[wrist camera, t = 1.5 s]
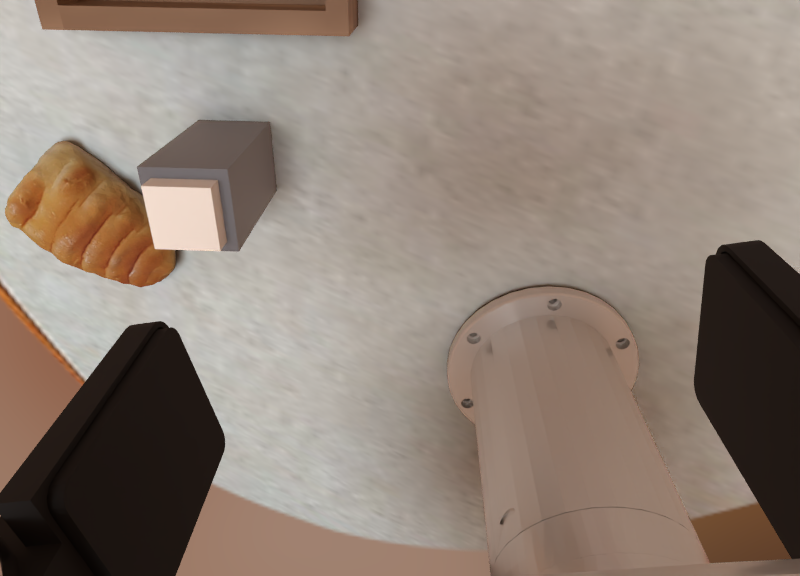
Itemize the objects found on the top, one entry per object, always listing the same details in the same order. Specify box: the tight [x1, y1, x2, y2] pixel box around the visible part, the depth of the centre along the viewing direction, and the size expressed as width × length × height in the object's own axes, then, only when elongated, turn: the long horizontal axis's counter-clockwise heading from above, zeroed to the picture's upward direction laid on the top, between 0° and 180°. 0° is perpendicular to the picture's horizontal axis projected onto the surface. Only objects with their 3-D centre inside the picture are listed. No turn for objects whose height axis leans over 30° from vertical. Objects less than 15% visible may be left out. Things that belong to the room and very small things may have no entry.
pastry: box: [5, 141, 176, 287], centre depth 34 cm, size 9×7×4 cm
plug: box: [137, 120, 277, 251], centre depth 30 cm, size 4×4×9 cm
